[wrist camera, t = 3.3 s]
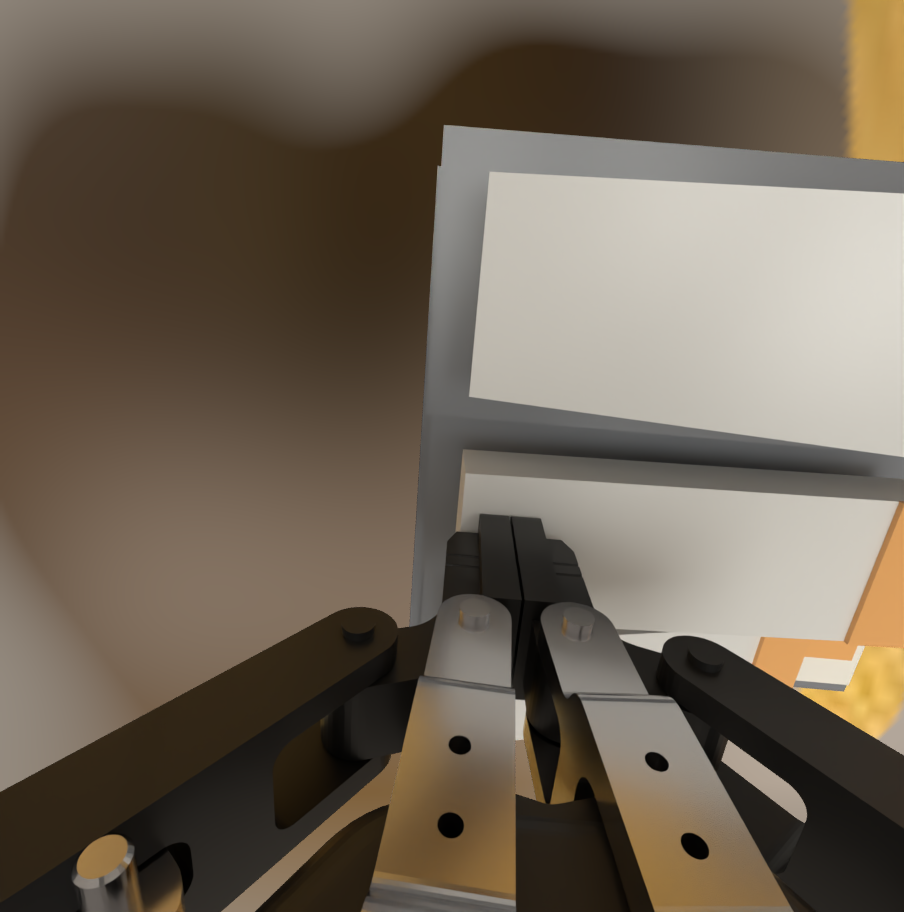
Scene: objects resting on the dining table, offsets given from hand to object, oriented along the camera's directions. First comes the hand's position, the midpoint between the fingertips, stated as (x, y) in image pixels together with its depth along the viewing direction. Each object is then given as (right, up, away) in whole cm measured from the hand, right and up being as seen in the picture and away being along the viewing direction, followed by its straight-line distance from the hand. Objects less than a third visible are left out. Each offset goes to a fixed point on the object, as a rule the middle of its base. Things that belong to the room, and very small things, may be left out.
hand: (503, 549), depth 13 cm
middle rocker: (+5, 0, +1) cm, 5 cm away
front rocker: (+5, +5, -4) cm, 8 cm away
